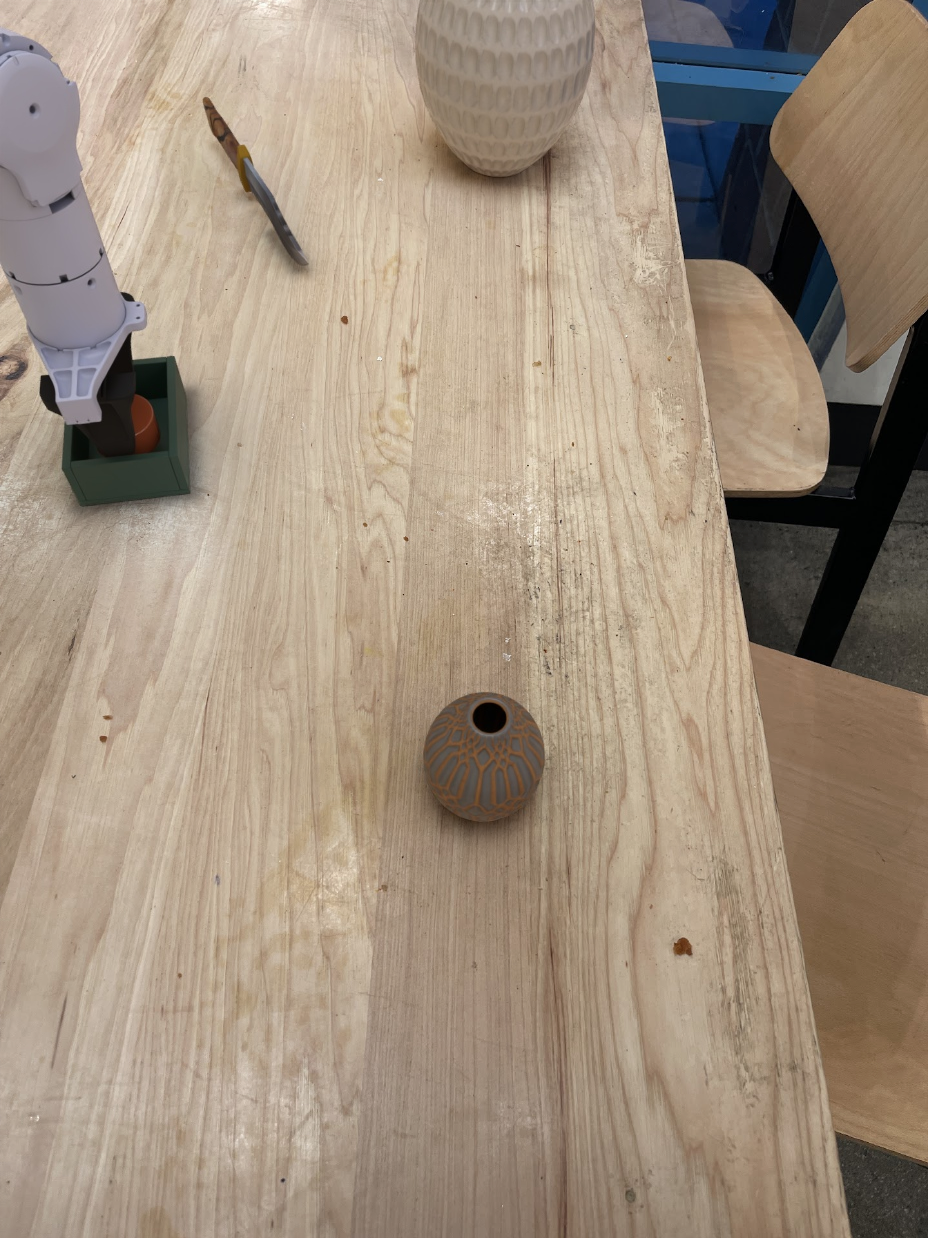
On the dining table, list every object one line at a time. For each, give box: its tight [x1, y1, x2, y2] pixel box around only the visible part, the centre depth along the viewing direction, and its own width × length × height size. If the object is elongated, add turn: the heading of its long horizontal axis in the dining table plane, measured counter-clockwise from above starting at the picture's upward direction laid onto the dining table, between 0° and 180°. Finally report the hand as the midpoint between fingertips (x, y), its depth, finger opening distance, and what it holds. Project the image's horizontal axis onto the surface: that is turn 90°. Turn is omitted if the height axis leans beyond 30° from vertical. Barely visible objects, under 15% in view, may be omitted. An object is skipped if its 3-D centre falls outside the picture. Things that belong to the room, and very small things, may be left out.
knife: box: [202, 96, 310, 267], centre depth 81 cm, size 25×1×5 cm, turn 28°
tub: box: [61, 355, 191, 507], centre depth 65 cm, size 8×10×4 cm
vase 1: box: [414, 0, 596, 178], centre depth 80 cm, size 16×16×22 cm
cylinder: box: [95, 394, 161, 458], centre depth 62 cm, size 5×5×2 cm
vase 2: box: [422, 691, 546, 822], centre depth 50 cm, size 7×7×9 cm
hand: (120, 424), depth 62 cm, fingers closed on cylinder, 5 cm apart
